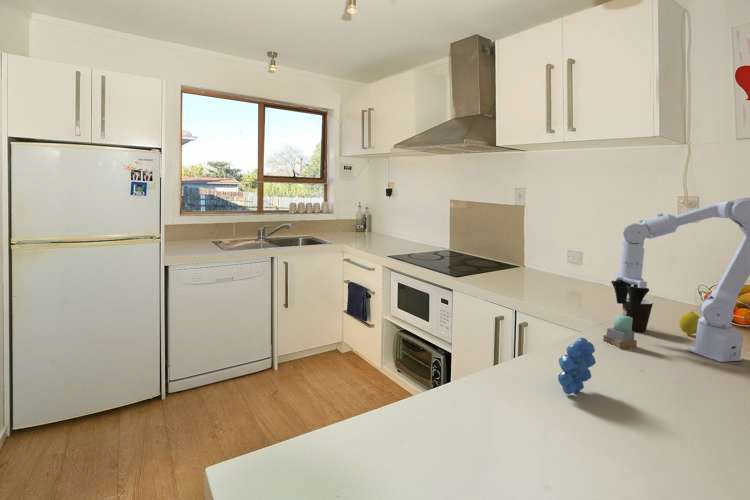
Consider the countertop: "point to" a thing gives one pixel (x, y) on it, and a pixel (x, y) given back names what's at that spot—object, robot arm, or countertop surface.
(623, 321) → the teal cylinder
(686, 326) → the lemon
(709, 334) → the robot arm
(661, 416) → the countertop surface
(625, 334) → the grey square slab
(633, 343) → the walnut block
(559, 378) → the grapes
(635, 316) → the coffee mug
